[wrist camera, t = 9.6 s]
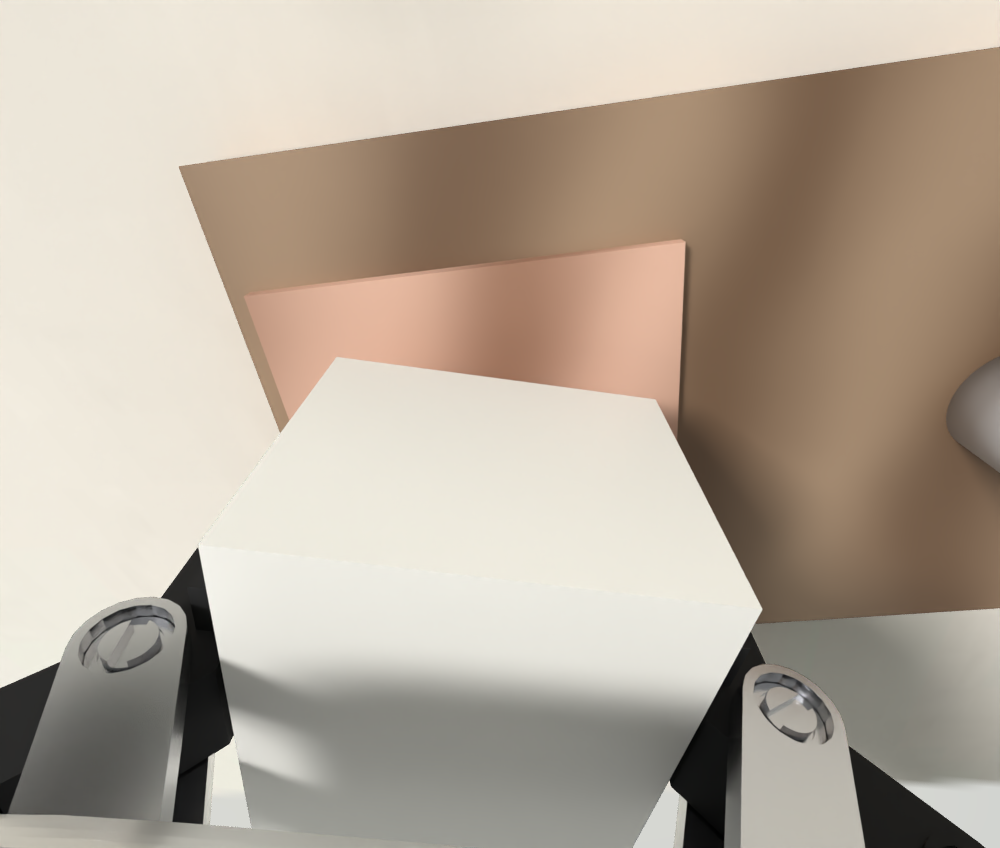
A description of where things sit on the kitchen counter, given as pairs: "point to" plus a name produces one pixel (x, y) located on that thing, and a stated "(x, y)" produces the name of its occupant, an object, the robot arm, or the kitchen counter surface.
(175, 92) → the kitchen counter surface
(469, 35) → the kitchen counter surface
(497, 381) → the matte white cube
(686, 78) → the kitchen counter surface
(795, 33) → the kitchen counter surface
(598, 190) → the post board
